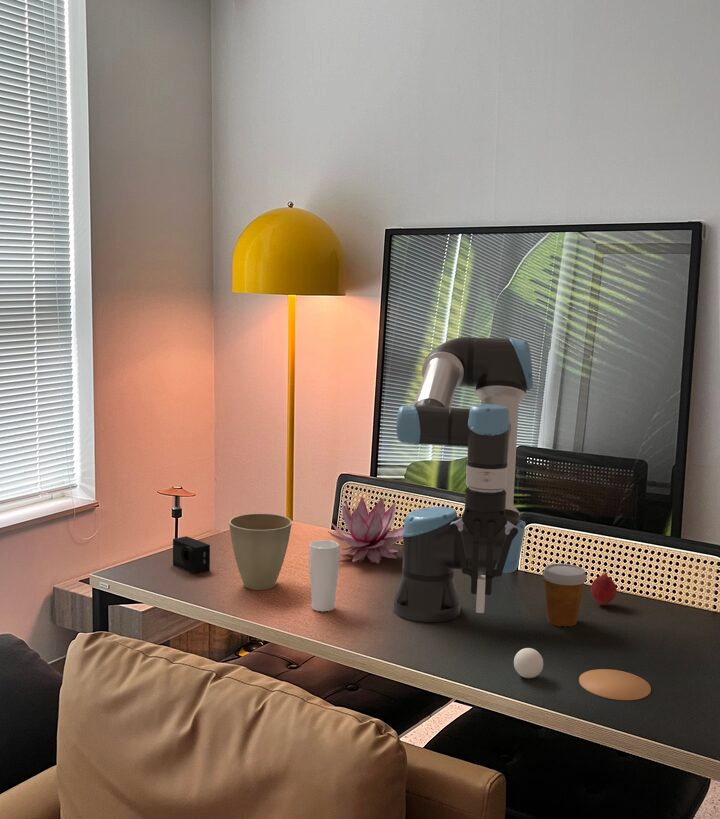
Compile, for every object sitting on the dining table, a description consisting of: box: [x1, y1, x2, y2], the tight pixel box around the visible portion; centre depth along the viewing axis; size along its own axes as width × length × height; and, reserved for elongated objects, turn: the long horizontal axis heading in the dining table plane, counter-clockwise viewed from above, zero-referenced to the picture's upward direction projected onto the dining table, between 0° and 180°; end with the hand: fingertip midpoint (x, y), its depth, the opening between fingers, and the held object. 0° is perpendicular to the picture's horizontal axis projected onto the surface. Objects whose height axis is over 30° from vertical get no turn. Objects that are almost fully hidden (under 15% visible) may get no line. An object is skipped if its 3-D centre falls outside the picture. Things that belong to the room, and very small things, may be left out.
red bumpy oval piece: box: [590, 571, 618, 606], centre depth 216 cm, size 6×6×8 cm
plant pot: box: [228, 512, 293, 591], centre depth 223 cm, size 15×15×16 cm
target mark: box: [578, 668, 652, 701], centre depth 173 cm, size 13×13×1 cm
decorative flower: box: [327, 496, 404, 564], centre depth 247 cm, size 21×21×15 cm
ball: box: [513, 647, 544, 679], centre depth 175 cm, size 6×6×6 cm
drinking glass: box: [308, 539, 340, 613], centre depth 208 cm, size 7×7×15 cm
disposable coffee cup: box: [542, 563, 588, 628], centre depth 204 cm, size 10×10×12 cm
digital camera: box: [172, 535, 211, 575], centre depth 235 cm, size 10×5×7 cm, turn 45°
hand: (480, 610), depth 175 cm, fingers closed
